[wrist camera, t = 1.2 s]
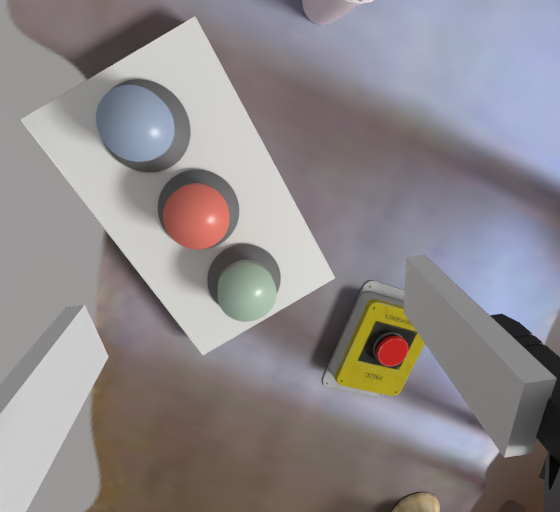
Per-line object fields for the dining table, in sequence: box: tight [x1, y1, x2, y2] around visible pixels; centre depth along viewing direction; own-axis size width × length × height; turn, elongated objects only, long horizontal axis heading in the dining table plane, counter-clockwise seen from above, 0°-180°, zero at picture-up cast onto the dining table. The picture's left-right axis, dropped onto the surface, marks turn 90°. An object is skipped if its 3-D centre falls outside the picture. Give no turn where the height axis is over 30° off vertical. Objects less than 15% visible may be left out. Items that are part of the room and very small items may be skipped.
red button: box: [163, 183, 229, 249], centre depth 28 cm, size 5×5×2 cm
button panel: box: [20, 17, 335, 355], centre depth 32 cm, size 16×26×3 cm, turn 29°
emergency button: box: [322, 281, 425, 397], centre depth 41 cm, size 9×4×15 cm
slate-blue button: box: [96, 85, 176, 162], centre depth 26 cm, size 5×5×2 cm
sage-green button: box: [218, 260, 277, 322], centre depth 31 cm, size 5×5×2 cm
